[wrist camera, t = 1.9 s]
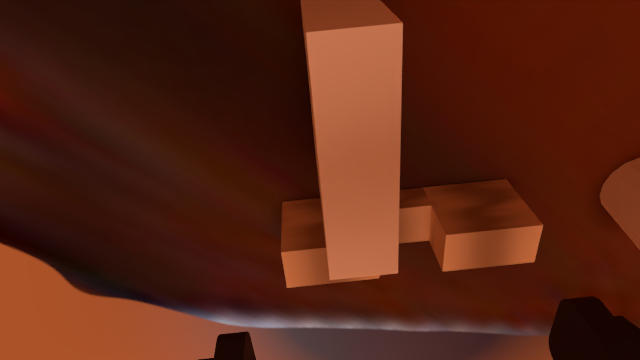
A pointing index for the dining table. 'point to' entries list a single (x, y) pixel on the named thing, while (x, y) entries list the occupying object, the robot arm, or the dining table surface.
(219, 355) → the robot arm
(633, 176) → the shot glass
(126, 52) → the dining table surface
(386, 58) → the plain rectangular block
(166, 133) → the dining table surface
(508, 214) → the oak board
